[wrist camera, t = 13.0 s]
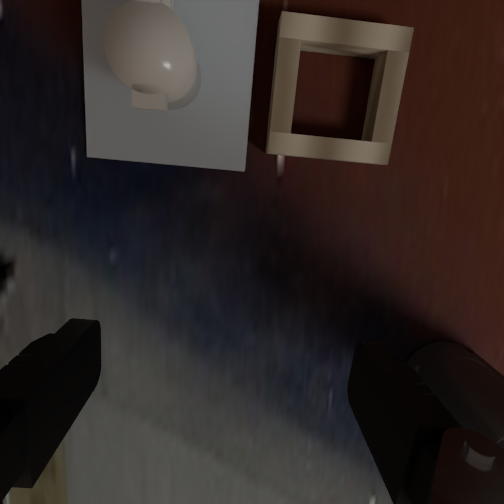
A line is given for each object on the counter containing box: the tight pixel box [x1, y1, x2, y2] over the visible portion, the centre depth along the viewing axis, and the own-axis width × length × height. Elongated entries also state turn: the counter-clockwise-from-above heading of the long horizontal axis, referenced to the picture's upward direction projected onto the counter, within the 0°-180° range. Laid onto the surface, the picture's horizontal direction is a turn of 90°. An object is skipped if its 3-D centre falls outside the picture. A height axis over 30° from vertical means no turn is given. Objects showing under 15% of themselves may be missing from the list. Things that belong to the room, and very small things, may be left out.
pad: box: [81, 0, 259, 172], centre depth 33 cm, size 16×16×1 cm
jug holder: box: [265, 11, 414, 165], centre depth 33 cm, size 12×12×3 cm
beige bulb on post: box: [104, 0, 201, 112], centre depth 28 cm, size 12×6×9 cm, turn 176°
